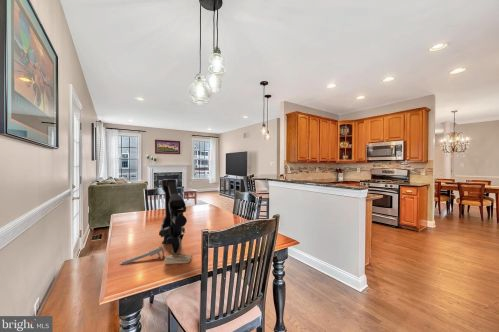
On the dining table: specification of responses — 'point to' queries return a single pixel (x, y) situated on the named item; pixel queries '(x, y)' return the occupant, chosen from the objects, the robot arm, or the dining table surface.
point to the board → (177, 259)
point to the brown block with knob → (177, 250)
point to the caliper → (151, 253)
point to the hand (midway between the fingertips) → (176, 250)
